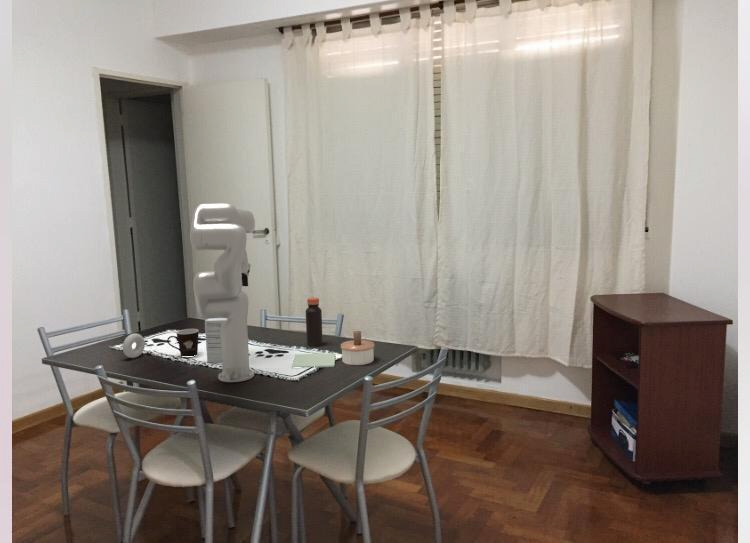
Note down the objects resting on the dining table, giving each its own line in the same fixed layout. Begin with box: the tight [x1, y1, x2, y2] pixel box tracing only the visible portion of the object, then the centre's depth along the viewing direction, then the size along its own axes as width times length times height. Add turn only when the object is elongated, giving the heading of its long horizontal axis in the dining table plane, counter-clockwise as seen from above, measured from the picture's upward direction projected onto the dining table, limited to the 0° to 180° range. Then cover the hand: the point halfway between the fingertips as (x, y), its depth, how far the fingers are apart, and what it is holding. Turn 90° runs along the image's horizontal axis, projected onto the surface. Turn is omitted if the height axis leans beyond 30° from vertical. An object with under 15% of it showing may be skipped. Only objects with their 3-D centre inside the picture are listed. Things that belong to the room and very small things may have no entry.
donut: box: [122, 333, 146, 359], centre depth 235 cm, size 10×4×10 cm, turn 154°
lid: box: [340, 330, 375, 351], centre depth 225 cm, size 13×13×6 cm
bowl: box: [341, 348, 375, 366], centre depth 226 cm, size 12×12×6 cm
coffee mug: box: [166, 328, 200, 357], centre depth 237 cm, size 12×9×10 cm
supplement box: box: [204, 318, 227, 363], centre depth 230 cm, size 10×9×17 cm
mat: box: [291, 352, 336, 368], centre depth 226 cm, size 16×16×1 cm
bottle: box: [305, 297, 324, 347], centre depth 249 cm, size 7×7×20 cm
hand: (236, 287), depth 232 cm, fingers open, 9 cm apart
